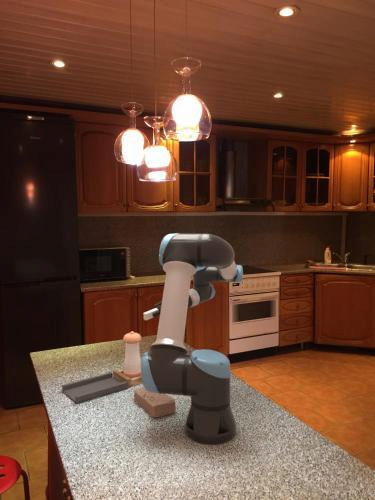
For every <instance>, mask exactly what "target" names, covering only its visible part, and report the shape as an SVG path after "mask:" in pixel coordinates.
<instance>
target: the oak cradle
mask: <svg viewBox="0 0 375 500" xmlns="http://www.w3.org/2000/svg"><path fill="white" fill-rule="evenodd" d="M123 371H124V369H119V370H117V369H115V370H113V371H112V373H113V378H114V379H116V380H118V381H119V382H121V383H122V382H128V388H131V387H134V386H138V385H141V384H143V383H142V378H141V376H139V377H135V378H132V379H131V378H129V377H127V376H126V375H124V374H123Z"/></svg>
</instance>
